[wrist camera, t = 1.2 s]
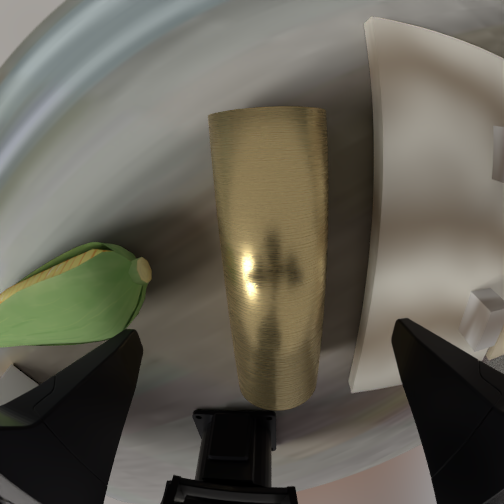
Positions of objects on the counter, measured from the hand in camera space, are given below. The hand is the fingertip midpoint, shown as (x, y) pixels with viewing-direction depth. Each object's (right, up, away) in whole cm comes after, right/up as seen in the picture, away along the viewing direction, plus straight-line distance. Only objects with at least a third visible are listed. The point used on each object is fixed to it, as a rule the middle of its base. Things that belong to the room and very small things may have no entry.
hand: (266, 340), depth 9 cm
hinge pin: (0, +3, +6) cm, 7 cm away
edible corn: (-15, 0, +8) cm, 17 cm away
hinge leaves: (+18, +4, +4) cm, 19 cm away
